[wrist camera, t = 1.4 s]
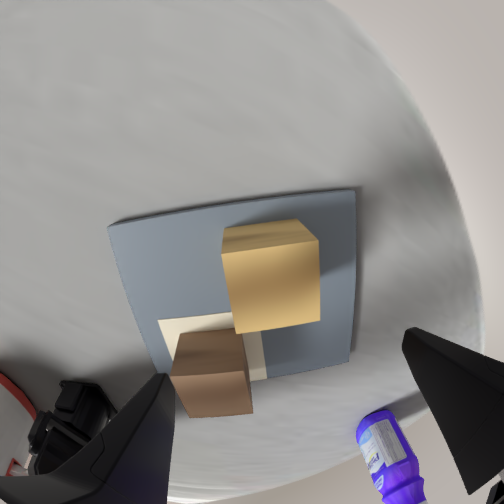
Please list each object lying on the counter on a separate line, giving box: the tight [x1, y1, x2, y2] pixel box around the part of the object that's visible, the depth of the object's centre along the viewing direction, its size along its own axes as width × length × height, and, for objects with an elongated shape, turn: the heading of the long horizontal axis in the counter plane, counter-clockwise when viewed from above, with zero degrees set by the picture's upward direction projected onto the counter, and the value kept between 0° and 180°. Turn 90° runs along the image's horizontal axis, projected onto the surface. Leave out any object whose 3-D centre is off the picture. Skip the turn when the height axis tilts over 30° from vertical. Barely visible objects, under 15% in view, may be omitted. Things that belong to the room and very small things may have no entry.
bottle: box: [356, 410, 428, 504], centre depth 22 cm, size 7×6×17 cm
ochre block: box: [221, 218, 320, 334], centre depth 17 cm, size 5×5×5 cm
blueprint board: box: [107, 189, 356, 386], centre depth 21 cm, size 16×18×1 cm
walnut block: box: [170, 328, 253, 418], centre depth 19 cm, size 5×5×5 cm
